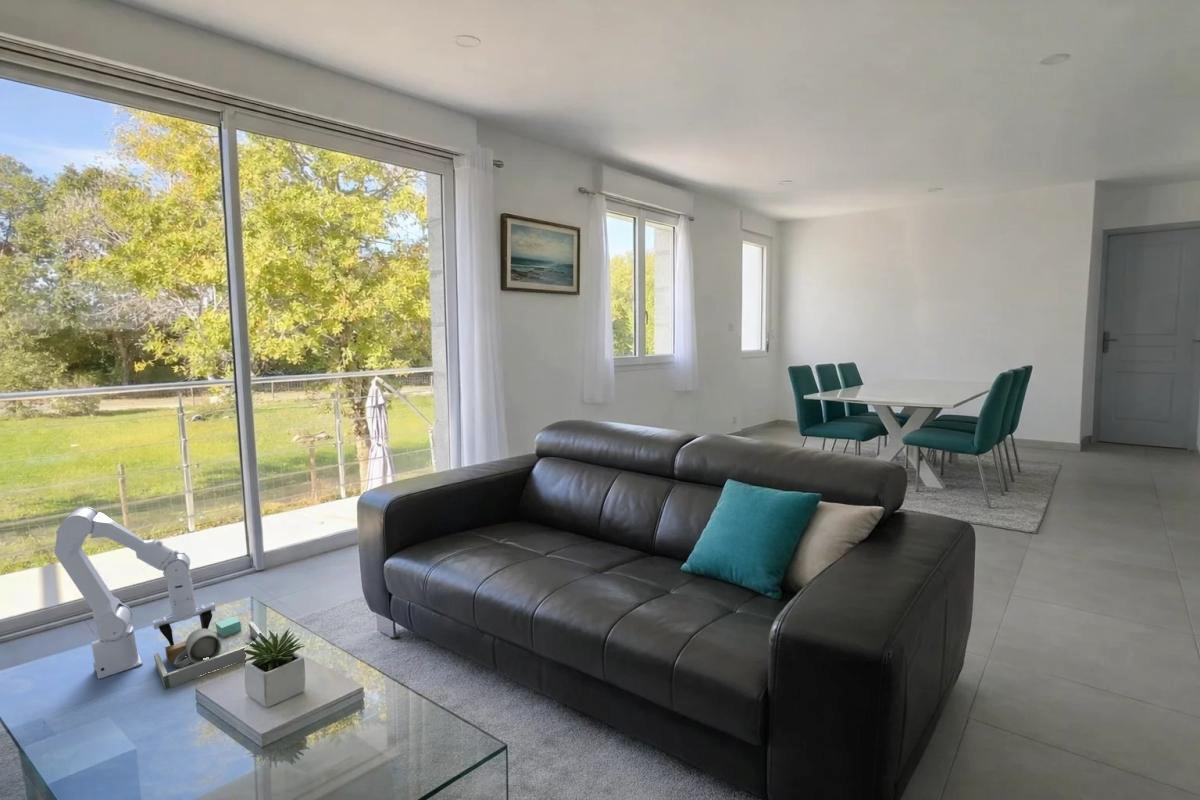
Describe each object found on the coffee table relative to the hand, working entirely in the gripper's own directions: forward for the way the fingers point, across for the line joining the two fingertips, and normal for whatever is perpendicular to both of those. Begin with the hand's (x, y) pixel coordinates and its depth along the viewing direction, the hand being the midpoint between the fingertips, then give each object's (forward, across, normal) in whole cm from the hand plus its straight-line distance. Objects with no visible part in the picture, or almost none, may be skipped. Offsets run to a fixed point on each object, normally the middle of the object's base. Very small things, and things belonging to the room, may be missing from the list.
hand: (189, 643), depth 180 cm
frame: (+2, +4, -11) cm, 11 cm away
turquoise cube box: (+2, +10, +3) cm, 11 cm away
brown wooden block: (+2, 0, -3) cm, 4 cm away
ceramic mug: (+2, 0, -9) cm, 9 cm away
